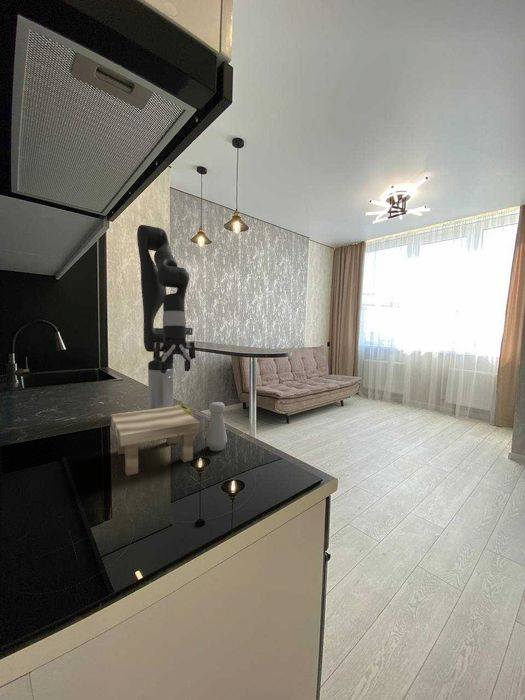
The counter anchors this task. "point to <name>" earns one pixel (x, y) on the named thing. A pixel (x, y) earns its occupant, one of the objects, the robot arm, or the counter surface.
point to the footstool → (153, 432)
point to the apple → (185, 408)
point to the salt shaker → (216, 427)
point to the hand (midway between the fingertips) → (175, 372)
